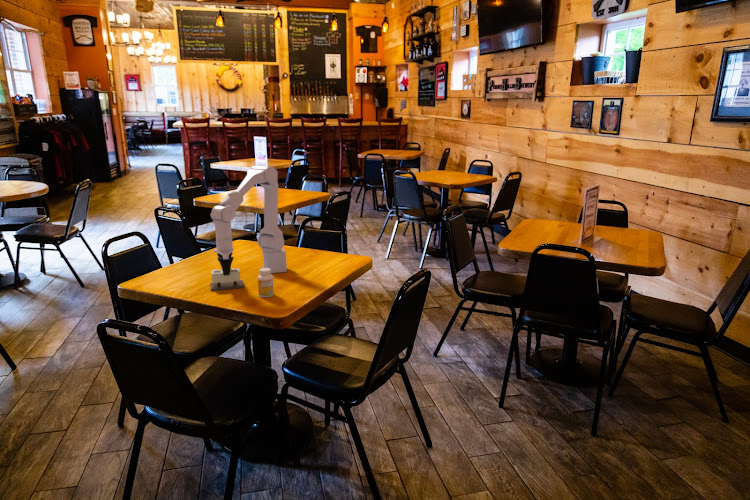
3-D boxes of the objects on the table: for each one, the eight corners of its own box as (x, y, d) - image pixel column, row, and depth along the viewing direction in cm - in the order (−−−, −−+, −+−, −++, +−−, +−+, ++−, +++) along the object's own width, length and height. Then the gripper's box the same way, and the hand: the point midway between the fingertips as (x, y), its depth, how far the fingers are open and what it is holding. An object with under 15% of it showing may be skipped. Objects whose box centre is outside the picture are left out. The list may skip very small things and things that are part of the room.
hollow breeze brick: (239, 277, 194) (238, 268, 193) (240, 280, 190) (239, 272, 189) (212, 279, 191) (211, 270, 190) (212, 283, 187) (211, 274, 186)
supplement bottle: (259, 292, 185) (258, 267, 182) (274, 292, 185) (273, 267, 183) (257, 297, 179) (256, 271, 177) (272, 297, 180) (271, 271, 178)
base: (242, 282, 196) (242, 271, 195) (244, 287, 190) (243, 276, 189) (210, 285, 193) (209, 273, 191) (210, 290, 186) (209, 279, 185)
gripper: (212, 234, 192) (214, 268, 195) (213, 243, 179) (215, 279, 182) (231, 233, 194) (233, 267, 197) (233, 241, 181) (235, 277, 184)
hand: (226, 272), depth 190 cm, fingers closed on hollow breeze brick, 5 cm apart
